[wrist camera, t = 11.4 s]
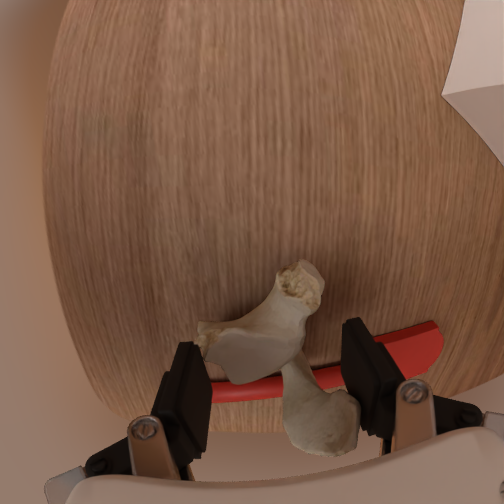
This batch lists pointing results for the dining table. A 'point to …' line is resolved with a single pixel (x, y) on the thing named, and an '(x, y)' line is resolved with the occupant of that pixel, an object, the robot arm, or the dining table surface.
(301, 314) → the bone
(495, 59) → the milk
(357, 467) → the robot arm
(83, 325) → the dining table surface
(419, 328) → the red toy shovel
